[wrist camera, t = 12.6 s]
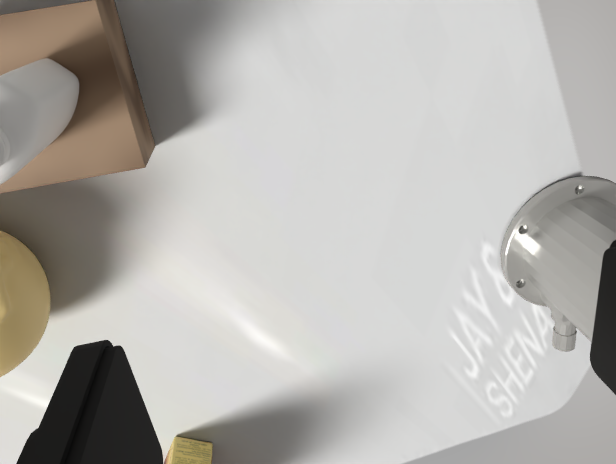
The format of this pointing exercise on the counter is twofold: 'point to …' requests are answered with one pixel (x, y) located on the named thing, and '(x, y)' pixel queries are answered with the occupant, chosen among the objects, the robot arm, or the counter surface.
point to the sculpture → (20, 302)
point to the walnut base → (81, 91)
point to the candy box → (189, 452)
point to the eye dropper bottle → (33, 111)
